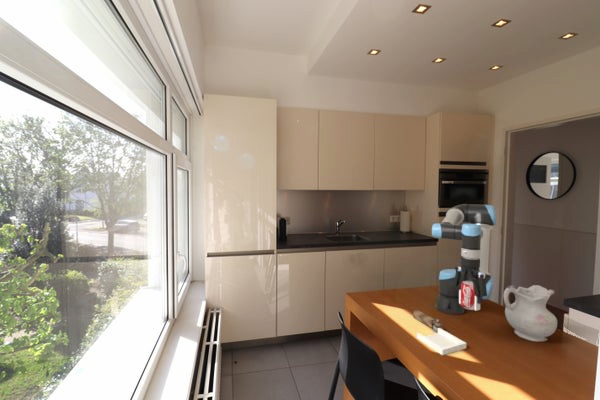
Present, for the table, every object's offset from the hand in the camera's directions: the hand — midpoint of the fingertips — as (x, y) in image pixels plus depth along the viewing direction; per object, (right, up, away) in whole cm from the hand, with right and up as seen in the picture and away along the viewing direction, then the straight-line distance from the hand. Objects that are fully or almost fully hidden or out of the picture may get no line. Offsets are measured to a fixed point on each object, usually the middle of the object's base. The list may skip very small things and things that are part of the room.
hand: (469, 306), depth 126 cm
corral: (-13, -17, +2) cm, 21 cm away
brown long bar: (-11, -16, +17) cm, 26 cm away
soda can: (0, -1, 0) cm, 1 cm away
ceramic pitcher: (+32, -17, +6) cm, 37 cm away
